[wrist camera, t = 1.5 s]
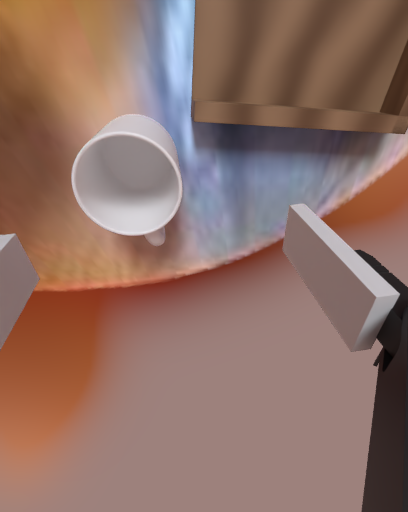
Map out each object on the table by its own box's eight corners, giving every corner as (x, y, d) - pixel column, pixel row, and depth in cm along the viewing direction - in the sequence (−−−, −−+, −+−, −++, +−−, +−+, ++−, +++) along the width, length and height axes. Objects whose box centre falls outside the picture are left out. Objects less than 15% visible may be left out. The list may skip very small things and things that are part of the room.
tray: (190, 116, 27) (194, 121, 25) (203, -200, 17) (211, -254, 14) (382, 128, 31) (404, 134, 28) (488, -133, 20) (541, -166, 17)
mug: (192, 210, 33) (202, 257, 25) (128, 226, 34) (117, 278, 25) (164, 103, 26) (165, 118, 18) (84, 123, 27) (48, 148, 18)
